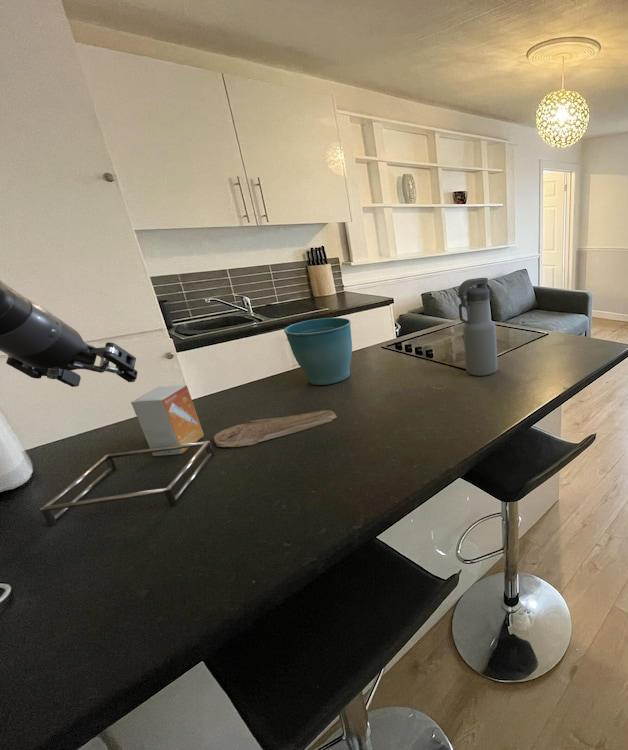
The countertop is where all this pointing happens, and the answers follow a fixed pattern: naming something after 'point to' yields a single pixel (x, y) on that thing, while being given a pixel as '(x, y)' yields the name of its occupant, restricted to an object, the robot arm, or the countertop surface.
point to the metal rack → (168, 491)
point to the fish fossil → (270, 428)
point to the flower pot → (322, 348)
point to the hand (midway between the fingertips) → (105, 379)
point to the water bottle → (478, 328)
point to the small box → (168, 418)
